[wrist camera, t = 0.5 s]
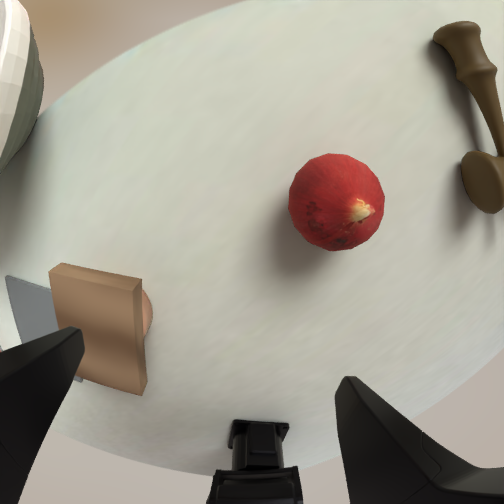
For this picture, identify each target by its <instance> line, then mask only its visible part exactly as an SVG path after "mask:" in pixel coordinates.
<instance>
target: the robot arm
mask: <svg viewBox="0 0 504 504" xmlns="http://www.w3.org/2000/svg"><path fill="white" fill-rule="evenodd" d="M84 352H85V345H84V339H83V332H82V330H81V329H80V328H77V327H74V326H69V327H66V328H63V329H61V330H58V331H55V332H53V333H50V334H47V335H45V336H42V337H39V338H37V339H34V340H31V341H29V342H26V343H23V344H21V345H18V346H15V347H13V348H10V349H7V350H5V351H2V352H0V504H18V502H19V499H20V496H21V494H22V491H23V488H24V486H25V483H26V480H27V478H28V474H29V472H30V470H31V467H32V465H33V463H34V460H35V458H36V456H37V453H38V451H39V449H40V447H41V444H42V442H43V440H44V438H45V436H46V434H47V431H48V429H49V427H50V425H51V423H52V421H53V419H54V417H55V415H56V413H57V411H58V409H59V407H60V405H61V403H62V401H63V400H64V398H65V396H66V394H67V392H68V390H69V388H70V386H71V384H72V382H73V379H74V377H75V374H76V372H77V369H78V367H79V365H80V362H81V360H82V358H83V355H84ZM335 407H336V419H337V431H338V438H339V443H340V448H341V454H342V459H343V463H344V470H345V475H346V481H347V487H348V493H349V499H350V504H504V467H501V468H479V467H476V466H473V465H471V464H470V463H468V462H467V461H465V460H463V459H462V458H460V457H458V456H457V455H455V454H454V453H452V452H450V451H449V450H447V449H446V448H444V447H443V446H441V445H440V444H439V443H437V442H435V440H433V439H432V438H431V437H429V436H428V435H427V434H425V433H424V432H422V430H420V429H419V428H418V427H417V426H415V425H414V424H413V423H412V422H410V421H409V420H408V419H407V418H406V417H404V416H403V415H402V414H401V413H399V412H398V411H397V410H396V409H395V408H393V407H392V406H391V405H390V404H388V403H387V402H386V401H385V400H384V399H382V398H381V397H380V396H379V395H378V394H376V393H375V392H374V391H373V390H372V389H370V388H369V387H368V386H367V385H366V384H364V383H363V382H362V381H361V380H360V379H358V378H357V377H355V376H345V377H344V378H343V379H342V381H341V383H340V385H339V387H338V389H337V391H336V393H335ZM288 430H289V424H288V423H275V422H258V421H246V420H234V421H233V423H232V428H231V432H230V437H229V442H228V448H229V449H233V456H232V470H216V473H215V475H214V476H213V482H212V486H211V491H210V494H209V496H208V499H207V501H206V504H303V495H302V489H301V483H300V477H299V472H298V466H292V467H288V468H284V462H283V451H282V442H283V440H284V438H285V436H286V434H287V432H288Z"/></svg>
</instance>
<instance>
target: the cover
mask: <svg viewBox="0 0 504 504" xmlns="http://www.w3.org/2000/svg"><path fill="white" fill-rule="evenodd" d="M48 272H49V279H50V286H51V292H52V298H53V304H54V309H55V314H56V319H57V324H58V328H59V330H61V329H63V328H66V327H69V326H74V327H77V328H80V329H81V330H82V332H83V339H84V345H85V352H84V355H83V358H82V360H81V362H80V365H79V367H78V369H77V372H76V374H75V376H78V377H81V378H83V379H86V380H89V381H92V382H95V383H98V384H101V385H104V386H108V387H111V388H114V389H118V390H121V391H125V392H128V393H132V394H136V395H140V396H142V394H143V392H144V389H145V387H146V384H147V373H146V362H145V349H144V334H143V313H142V279H139V278H134V277H129V276H124V275H118V274H113V273H108V272H103V271H99V270H94V269H89V268H84V267H80V266H75V265H70V264H66V263H60V264H59V265H57V266H56V267H54V268H53V269H51V270H50V271H48Z"/></svg>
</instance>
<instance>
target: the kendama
mask: <svg viewBox="0 0 504 504" xmlns="http://www.w3.org/2000/svg"><path fill="white" fill-rule="evenodd" d="M480 33H481V29H480V27H479V26H478V25H477V24H476V23H474V22H470V21H459V22H455V23H451V24H447V25H445V26H443V27H441V28H439V29H438V30H437V31H436V32H435V33H434V35H433V40H434V41H435V42H436V43H438V44H440V45H442V46H443V47H444V48H445V49H446V50H447V51H448V52H449V54H450V56H451V57H452V59H453V61H454V63H455V66H456V78H457V79H458V80H459V81H461V82H463V83H464V84H465V85H466V86H467V87H468V89H469V90H470V92H471V93H472V95H473V96H474V98H475V100H476V102H477V104H478V106H479V108H480V110H481V112H482V114H483V116H484V118H485V120H486V123H487V125H488V127H489V130H490V132H491V135H492V138H493V140H494V143H495V146H496V149H497V153H498V156H497V157H494V156H492V155H490V154H487V153H484V152H481V151H471V152H467V153H466V155H465V156H464V157H463V158H462V163H461V172H462V178H463V182H464V186H465V189H466V192H467V194H468V195H469V197H470V199H471V201H472V202H473V203H474V204H475V205H476V207H477V208H478V209H480V210H482V211H483V212H485V213H491V214H495V213H497V212H498V211H500V210H502V208H503V207H504V122H503V117H502V112H501V107H500V102H499V98H498V93H497V88H496V82H495V76H496V73H497V67H496V66H495V65H494V64H492V63H491V62H490V60H489V59H488V57H487V55H486V53H485V51H484V49H483V46H482V43H481V40H480Z"/></svg>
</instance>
